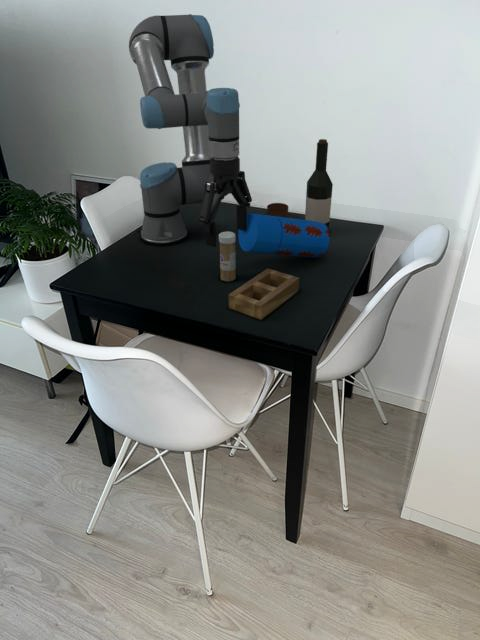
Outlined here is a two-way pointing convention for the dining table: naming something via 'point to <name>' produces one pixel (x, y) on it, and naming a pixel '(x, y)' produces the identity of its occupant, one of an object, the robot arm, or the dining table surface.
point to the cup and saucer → (278, 210)
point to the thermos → (284, 236)
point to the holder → (263, 293)
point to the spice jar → (227, 256)
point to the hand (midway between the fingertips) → (226, 237)
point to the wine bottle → (319, 188)
